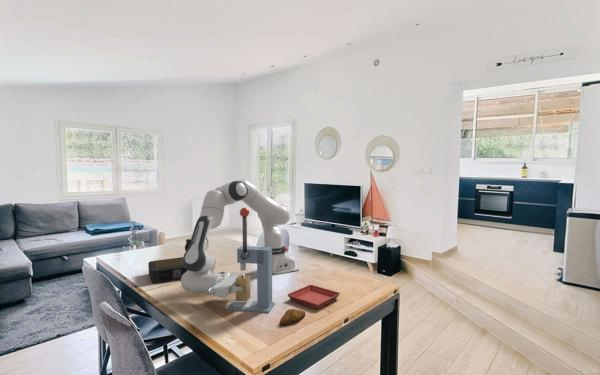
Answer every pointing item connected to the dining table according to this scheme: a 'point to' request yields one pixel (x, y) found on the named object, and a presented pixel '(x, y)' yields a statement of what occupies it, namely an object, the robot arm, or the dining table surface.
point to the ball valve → (189, 244)
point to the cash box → (166, 270)
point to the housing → (245, 282)
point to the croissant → (292, 316)
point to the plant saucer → (313, 296)
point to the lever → (244, 232)
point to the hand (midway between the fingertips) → (245, 285)
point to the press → (264, 280)
